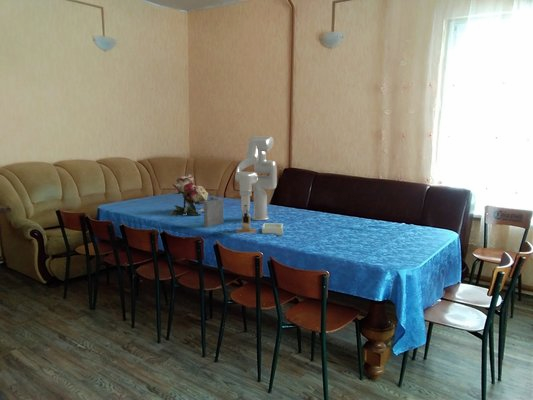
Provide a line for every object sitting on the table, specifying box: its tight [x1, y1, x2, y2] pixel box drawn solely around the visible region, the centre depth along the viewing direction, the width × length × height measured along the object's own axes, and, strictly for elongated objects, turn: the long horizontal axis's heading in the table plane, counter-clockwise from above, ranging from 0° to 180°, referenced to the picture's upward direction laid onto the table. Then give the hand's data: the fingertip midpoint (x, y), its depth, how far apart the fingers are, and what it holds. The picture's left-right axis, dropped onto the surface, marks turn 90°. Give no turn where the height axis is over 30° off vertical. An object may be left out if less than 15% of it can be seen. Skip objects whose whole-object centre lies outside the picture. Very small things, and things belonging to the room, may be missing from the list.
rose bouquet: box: [170, 173, 209, 216], centre depth 337 cm, size 26×29×30 cm
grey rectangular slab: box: [203, 195, 224, 228], centre depth 296 cm, size 16×4×20 cm, turn 136°
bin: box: [261, 222, 284, 237], centre depth 275 cm, size 12×12×5 cm
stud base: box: [234, 227, 257, 234], centre depth 276 cm, size 12×12×10 cm
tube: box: [241, 213, 251, 231], centre depth 276 cm, size 5×5×10 cm
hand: (246, 221), depth 276 cm, fingers closed on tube, 5 cm apart
